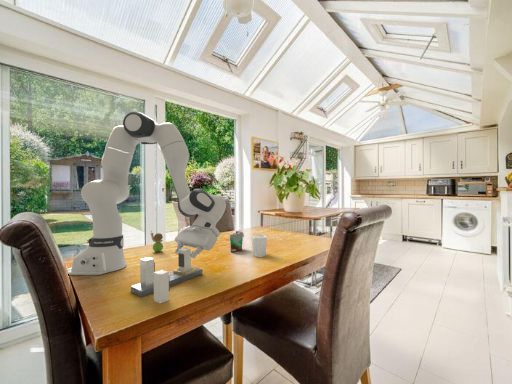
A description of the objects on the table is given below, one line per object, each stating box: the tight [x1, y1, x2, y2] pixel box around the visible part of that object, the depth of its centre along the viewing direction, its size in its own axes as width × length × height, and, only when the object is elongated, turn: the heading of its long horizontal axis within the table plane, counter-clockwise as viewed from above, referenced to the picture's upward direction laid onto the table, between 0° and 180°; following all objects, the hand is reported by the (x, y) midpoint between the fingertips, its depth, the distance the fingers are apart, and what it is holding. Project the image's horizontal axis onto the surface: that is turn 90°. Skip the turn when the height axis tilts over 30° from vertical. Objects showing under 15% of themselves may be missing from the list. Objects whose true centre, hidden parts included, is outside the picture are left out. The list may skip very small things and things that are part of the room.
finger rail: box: [130, 256, 203, 298], centre depth 91 cm, size 26×7×11 cm, turn 145°
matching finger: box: [177, 247, 192, 272], centre depth 97 cm, size 4×4×9 cm
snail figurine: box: [150, 230, 164, 253], centre depth 135 cm, size 5×6×12 cm
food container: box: [229, 230, 245, 253], centre depth 138 cm, size 12×6×10 cm, turn 168°
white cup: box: [251, 234, 268, 258], centre depth 128 cm, size 8×8×10 cm
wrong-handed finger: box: [153, 269, 171, 305], centre depth 77 cm, size 4×4×9 cm
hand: (184, 255), depth 97 cm, fingers open, 8 cm apart
